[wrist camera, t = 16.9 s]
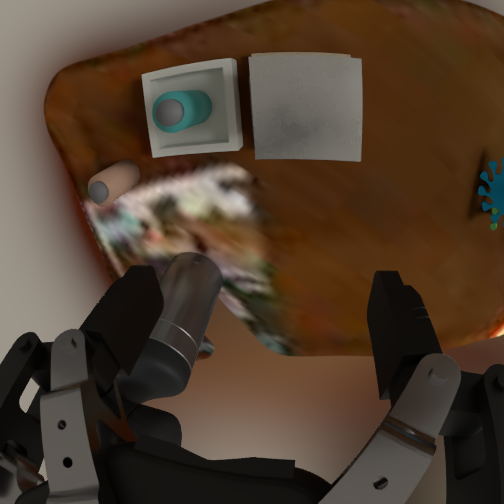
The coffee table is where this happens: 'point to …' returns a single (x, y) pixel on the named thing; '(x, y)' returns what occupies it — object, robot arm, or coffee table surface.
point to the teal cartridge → (181, 110)
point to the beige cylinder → (113, 182)
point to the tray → (220, 120)
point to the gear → (494, 193)
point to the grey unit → (306, 105)
